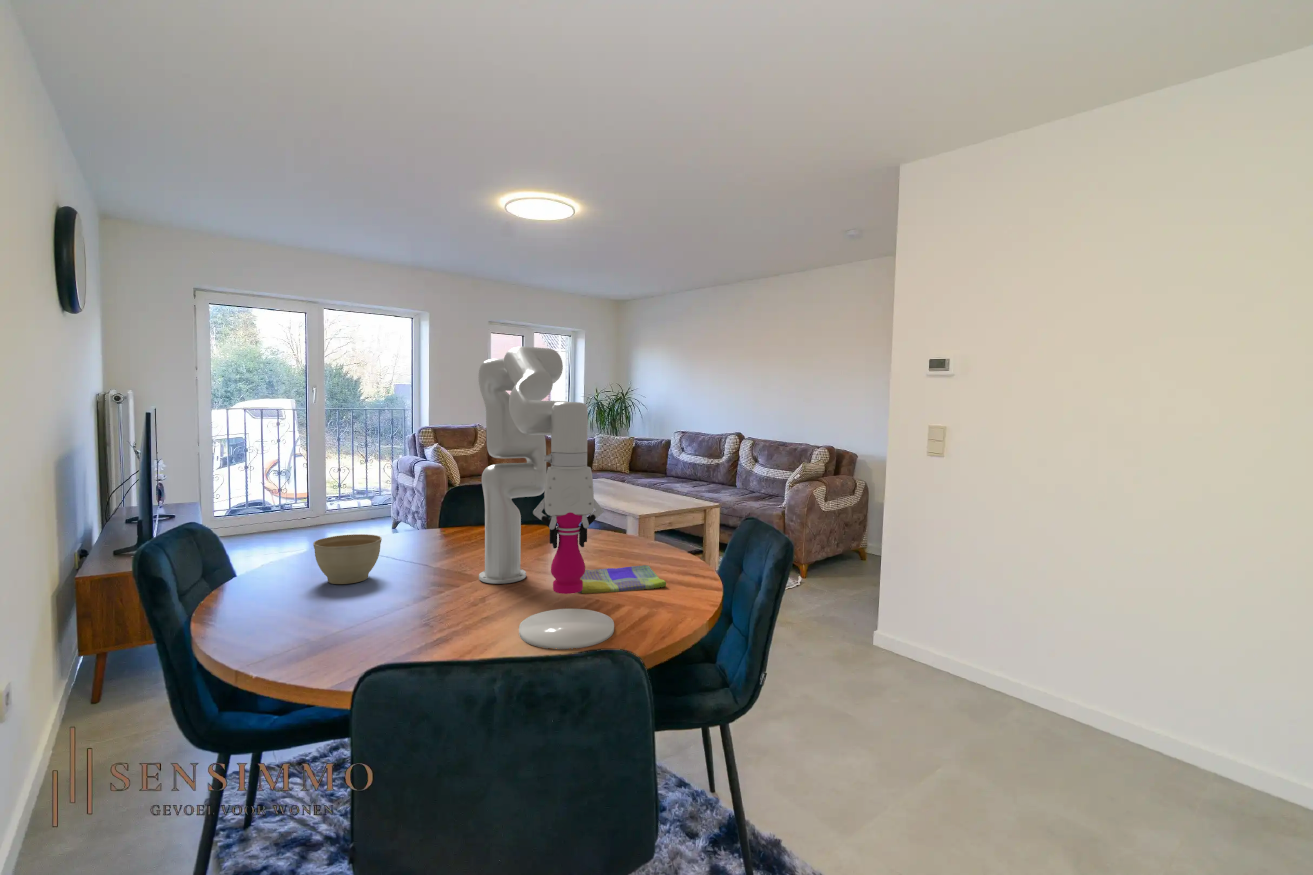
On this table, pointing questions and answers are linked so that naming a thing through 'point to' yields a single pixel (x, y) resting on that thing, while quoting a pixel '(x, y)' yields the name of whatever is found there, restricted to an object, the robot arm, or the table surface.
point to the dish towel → (620, 579)
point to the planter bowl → (347, 557)
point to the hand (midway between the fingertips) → (568, 545)
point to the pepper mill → (568, 556)
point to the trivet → (566, 628)
